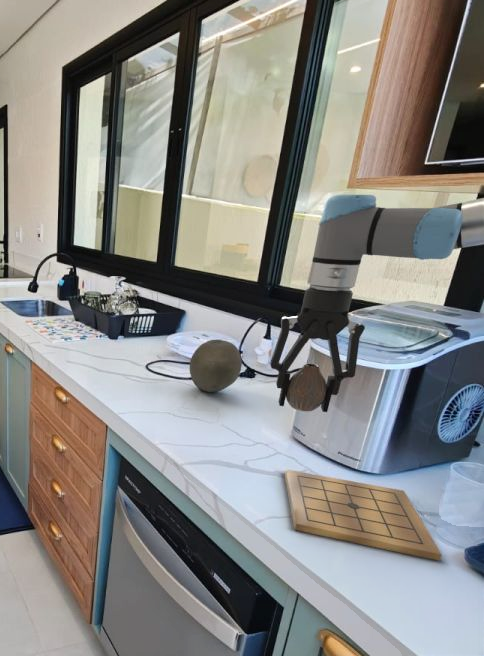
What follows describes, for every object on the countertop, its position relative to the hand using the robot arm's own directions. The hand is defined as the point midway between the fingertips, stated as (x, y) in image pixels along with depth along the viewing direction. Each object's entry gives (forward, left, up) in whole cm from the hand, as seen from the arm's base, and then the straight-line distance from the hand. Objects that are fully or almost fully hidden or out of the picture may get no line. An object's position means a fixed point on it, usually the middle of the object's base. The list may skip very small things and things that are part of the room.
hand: (302, 406), depth 99 cm
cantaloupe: (+17, -40, -13) cm, 46 cm away
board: (-9, +15, -13) cm, 22 cm away
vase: (0, 0, -1) cm, 1 cm away
